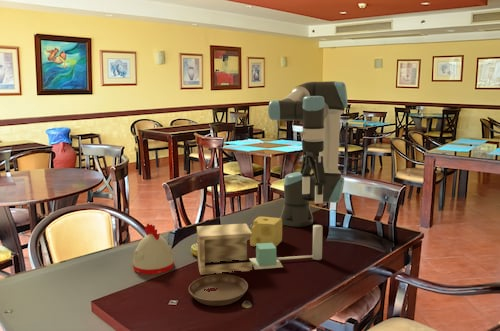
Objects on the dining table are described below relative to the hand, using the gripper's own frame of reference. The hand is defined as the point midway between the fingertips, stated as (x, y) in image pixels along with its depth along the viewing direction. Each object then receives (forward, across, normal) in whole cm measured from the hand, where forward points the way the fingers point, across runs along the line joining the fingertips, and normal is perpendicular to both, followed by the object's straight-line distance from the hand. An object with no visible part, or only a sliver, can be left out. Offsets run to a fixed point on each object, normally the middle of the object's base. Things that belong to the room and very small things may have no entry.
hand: (312, 198), depth 165 cm
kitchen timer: (+21, -2, -57) cm, 61 cm away
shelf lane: (+21, +4, -33) cm, 40 cm away
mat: (+21, +4, -18) cm, 28 cm away
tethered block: (+21, +4, -9) cm, 24 cm away
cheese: (+22, -16, -13) cm, 30 cm away
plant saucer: (+21, +25, -38) cm, 51 cm away
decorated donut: (+22, -10, -38) cm, 45 cm away
